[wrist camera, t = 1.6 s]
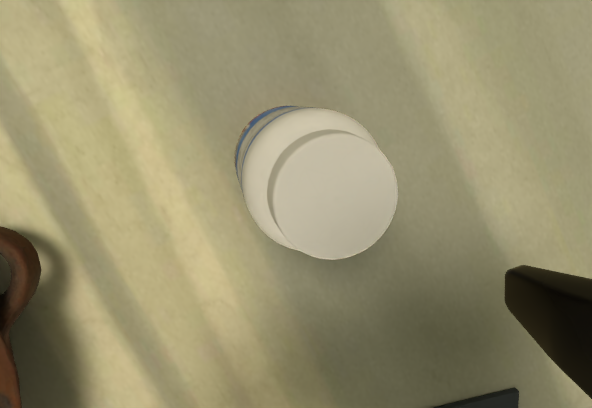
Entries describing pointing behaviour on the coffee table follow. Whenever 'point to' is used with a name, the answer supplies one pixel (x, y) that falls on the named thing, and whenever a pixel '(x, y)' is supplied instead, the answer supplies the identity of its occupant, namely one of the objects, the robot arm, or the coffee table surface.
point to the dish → (14, 306)
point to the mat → (489, 400)
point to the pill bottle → (315, 181)
